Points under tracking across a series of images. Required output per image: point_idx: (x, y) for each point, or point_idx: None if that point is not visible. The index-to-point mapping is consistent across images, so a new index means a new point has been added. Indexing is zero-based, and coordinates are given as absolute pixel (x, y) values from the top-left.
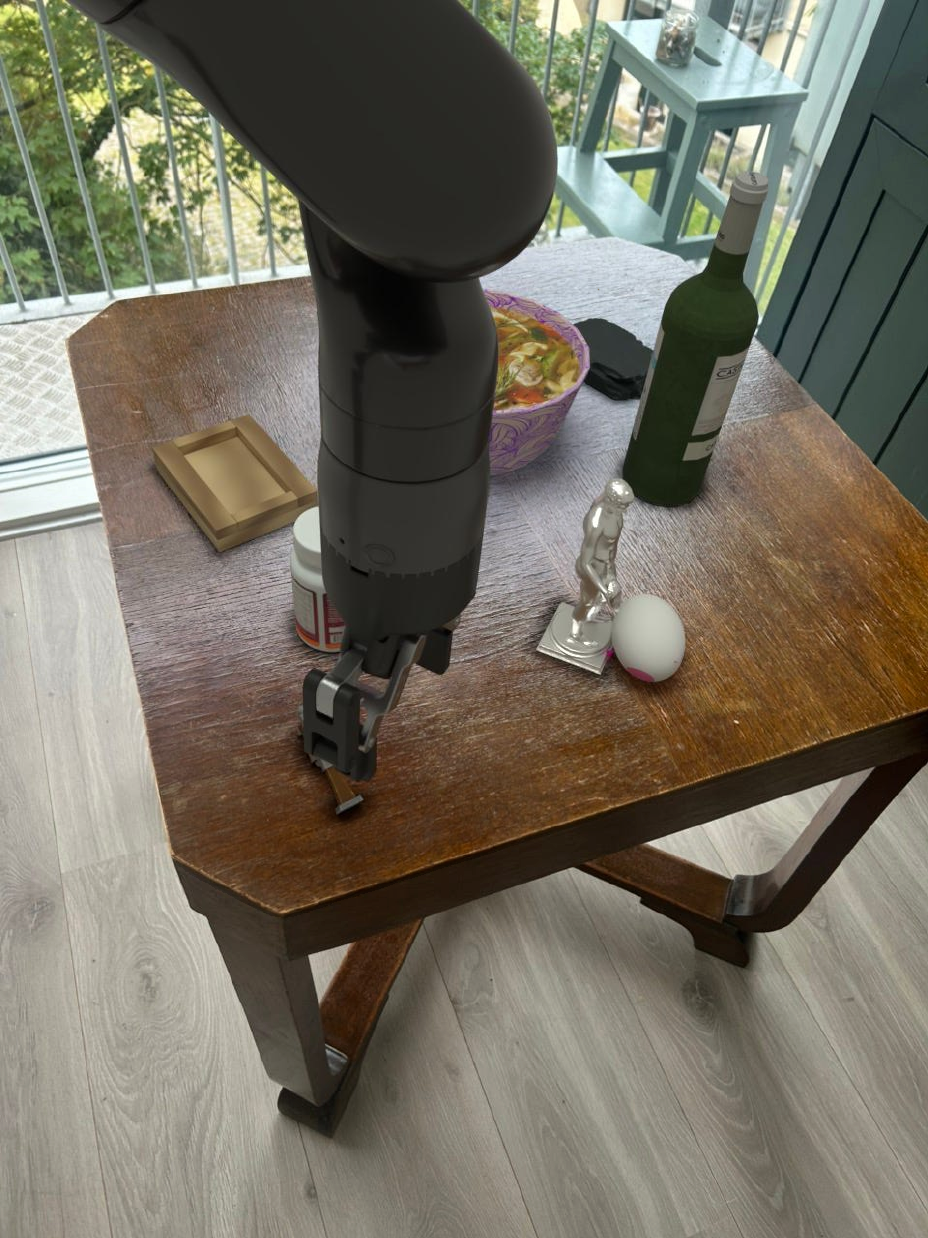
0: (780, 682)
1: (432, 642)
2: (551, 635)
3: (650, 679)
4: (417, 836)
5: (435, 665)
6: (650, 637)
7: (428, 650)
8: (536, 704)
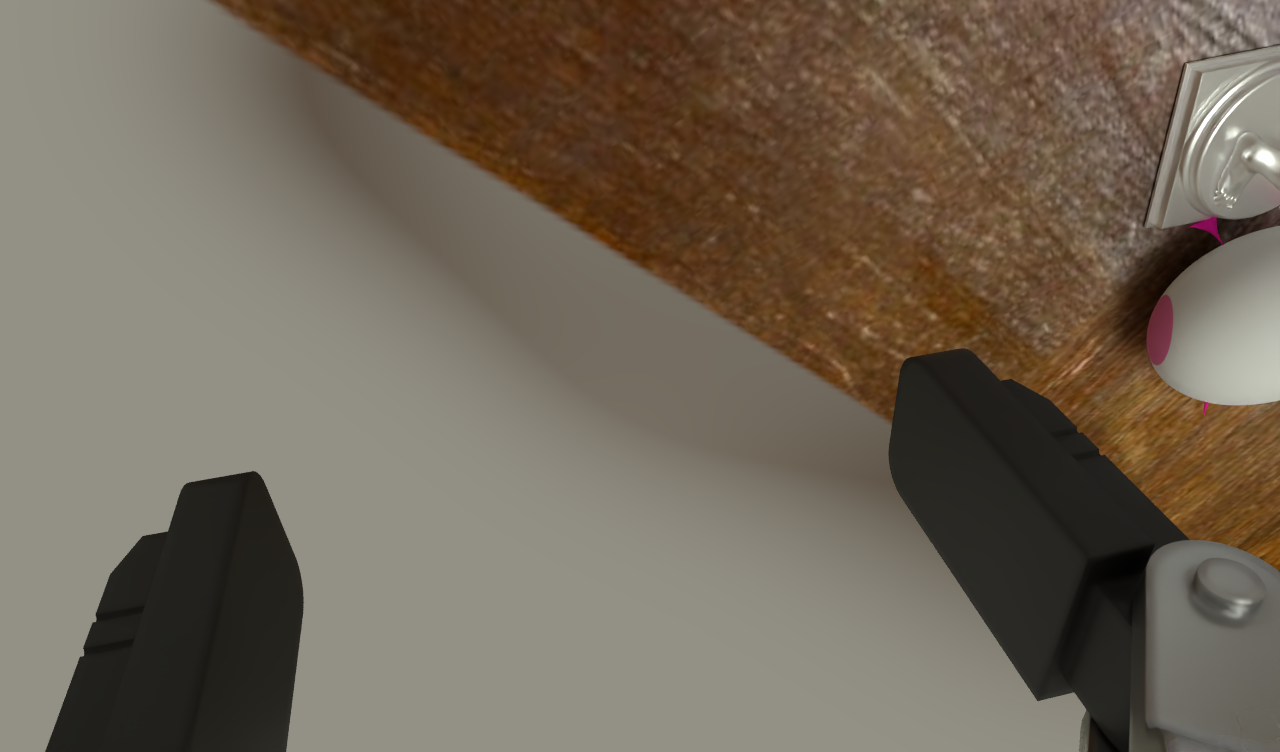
0: (1200, 472)
1: (1003, 568)
2: (1239, 87)
3: (1151, 356)
4: (558, 135)
5: (916, 472)
6: (1263, 372)
7: (965, 500)
8: (1023, 154)
